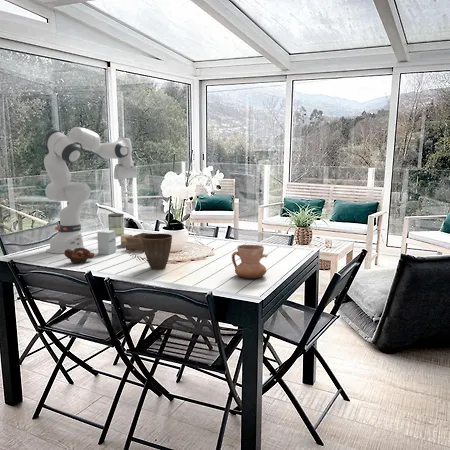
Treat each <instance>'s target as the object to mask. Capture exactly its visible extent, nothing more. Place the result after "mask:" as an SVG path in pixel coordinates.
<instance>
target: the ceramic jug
mask: <svg viewBox="0 0 450 450" xmlns="http://www.w3.org/2000/svg"><path fill="white" fill-rule="evenodd" d="M264 251H265V249H264V246H263V245H260V244H240V245H238V246H237V251H233V252H232V254H231V261H232V264H233V265H234V272H235V275H237V276H238V277H241V278H243V279H249V280H250V279H251V280H254V279H259V278H261V277H263V276H265V274H267V268H266V266H265V265H264V264H262V263H261V262H260V261H261V259H262V258H266V259H267V258H268V256H269V255H268V254H267V253H266V254H265V253H264ZM236 256H237V257H239V259H240V261H241V262H240V263H239V264H237V263H236V258H235V257H236Z"/></svg>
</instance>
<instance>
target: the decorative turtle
mask: <svg viewBox="0 0 450 450" xmlns="http://www.w3.org/2000/svg"><path fill="white" fill-rule="evenodd" d="M63 254H64V256H65V257H66V259H69V260H70V262H71V263H73V264H74V265H77V264H78V263H79V262H81V263H82V264H86V262H87V260H88V259H94V257H95V253H94V252H91V251H90V250H89V249H87V248H86V247H85V248H76V249H74V250H71V249H67V250H65V252H64V253H63Z"/></svg>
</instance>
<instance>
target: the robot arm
mask: <svg viewBox="0 0 450 450" xmlns="http://www.w3.org/2000/svg"><path fill="white" fill-rule="evenodd" d="M44 143H45V150H46V151H47V152H48V154H46V155H45V156H44V158H43V164H44V165H43V166H44V168H45V171H46V173H47V175H48V177H49V179H50V182H49V183H48V184H47V186H46V187H45V196H46V198H47V199H48V200H50V201H54V202H55V201H56V202H68V205H67V206H65V207H63V208H62V209H60V211H59V226H54V230H55V231H57V233H55V235H54V237H53V238H52V239H51V240H50V243H49V244H50V245H49V247H50V248H47V249H46V250H45V252H46V253H48V254H64V252H65V250H67V249H71V250H74V249H76V248H85V249H86V246H85V245H84V241H83V235H82V232H81V230H82V225H81V221H80V220H81V219H80V218H81V216H80V215H81V209H82V207H83V204H84V203H85V202H86V201H87V200H88V199H89V198H90V197H91V194H92V190H91V187H90V186H89V184H88V183H84V182H76V181H72V173H71V171H70V169H69V167H68V165H67V164H68V163H69V164H73V163H76V162H77V161H78V160H79V159H80V158H81V156H82V153H83V150H86V151H89V152H90V153H91V152H92V153H93V154H95V155H96V156H97V157H98V158H99V159H101V160H108V159H109V160H110V159H111V160H112V159H113V160H114V159H115V160H117V163H116V164H115V166H114V170H113V178H114V180H117V182H118V183H119V187H124V183H123V180H125V179H128V180H129V181H128V183H127V184H128V186H133V181H134V179H135V178H137V176H138V169H137V162H135V161H134V160H133V156H132V152H133V148H132V141H131V139H130V138H129V137H125V136H120V137H118V138H117V140H116V141H114V142H101V137H100V135H99V134H98V132H97V133H96V132H95V131H93V130H92V129H88V128H85V127H81V126H74V127H72V128H71V129H70V131H69V133H68V135H66V134H64V132H62V131H60V130H57V129H52V130H50V131H48V132H47V133H46V135H45V138H44Z"/></svg>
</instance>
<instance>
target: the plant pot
mask: <svg viewBox="0 0 450 450" xmlns="http://www.w3.org/2000/svg"><path fill="white" fill-rule="evenodd" d="M172 240H173V235H172V234H169V233H152V234H148V235H144V236H142V243H143V247H144V251H145V252H144V251H143V252H144V255H145V257H146V260H147V262H148V265H149V267H150V269H151V270H155V271H157V270H164V269H166V267H167V265H168V262H169V258H170V254H171V250H172V243H173V242H172Z"/></svg>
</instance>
